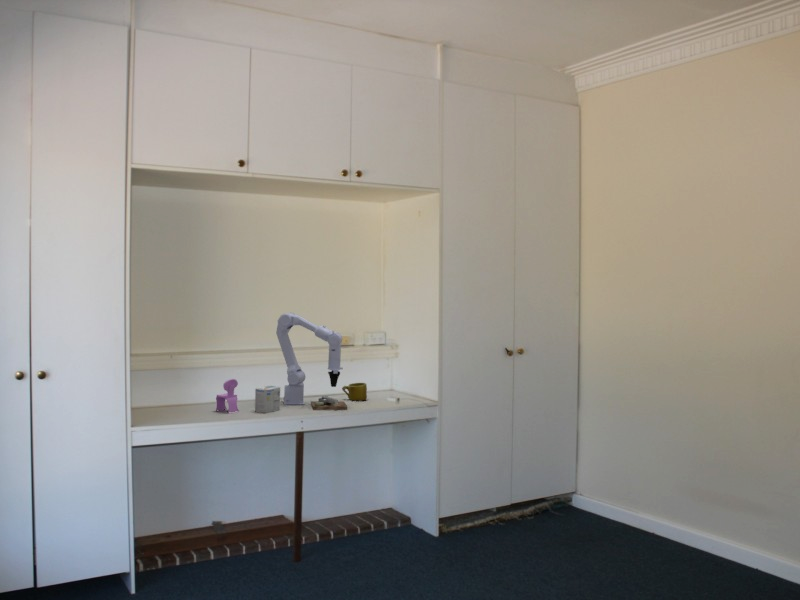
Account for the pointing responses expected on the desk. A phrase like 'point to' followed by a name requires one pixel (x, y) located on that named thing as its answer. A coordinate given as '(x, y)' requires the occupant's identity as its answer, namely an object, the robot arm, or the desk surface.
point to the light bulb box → (267, 399)
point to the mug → (356, 391)
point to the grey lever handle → (328, 400)
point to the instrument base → (328, 406)
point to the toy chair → (228, 396)
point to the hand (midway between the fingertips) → (333, 386)
